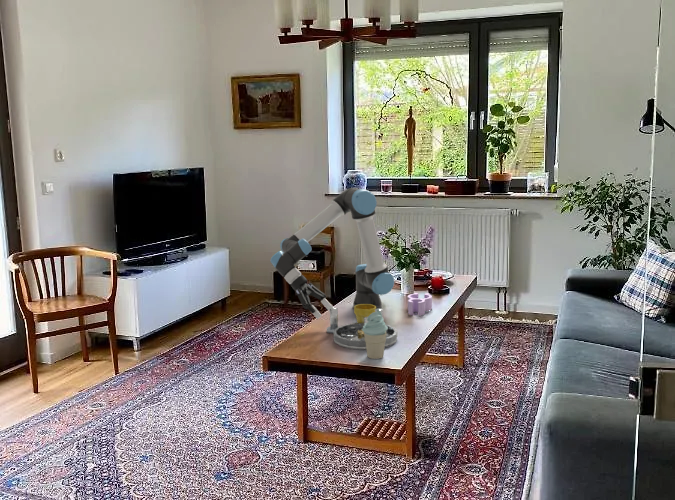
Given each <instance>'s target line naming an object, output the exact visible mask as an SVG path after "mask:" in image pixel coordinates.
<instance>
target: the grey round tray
mask: <svg viewBox="0 0 675 500" xmlns="http://www.w3.org/2000/svg"><path fill="white" fill-rule="evenodd" d="M378 310H380V312H381V314H382V317H383V318H384V309H383V308H380V309H378ZM375 312H377V309H375ZM367 318H368V317H365V318H364V323H357V322H356V323H355V322H353V323H348V324H343V325H341V326H339V327H338V328H336V329H335V330H334V332H333V342H334V343H335V344H336V345H337V346H340V347H343V348H346V349H350V350H360V351H361V350H363V351H364V350H365V351H367V348H366V342H365V336H364V331H362V329H363V326H365V323H368V321H367ZM385 325H386V326H387V327H388V329H387V330H386V342H385V347H384V348H388V347H390V346H393V345H394V344H396V343H397V341H398V330H397V328H396V327H393V326H391V325H390V324H385Z"/></svg>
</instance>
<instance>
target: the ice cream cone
mask: <svg viewBox="0 0 675 500" xmlns="http://www.w3.org/2000/svg"><path fill="white" fill-rule="evenodd" d="M384 320H385V319H384V316H383V317H382V314H381V312H380V310H378V309H377V312H373V313H372V314H370V315H369V316H368V318H367V321H368V323H365V326H363V329H362V331H364V336H365V342H366V348H367V350H366V354H367V358H368V359H372V360H377V359H382V358H384V357H385V355H384V354H385V348H386V347H385V342H386V330H387V329H388V327H387V326H386V325H387V324H386V322H385V321H384Z"/></svg>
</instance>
